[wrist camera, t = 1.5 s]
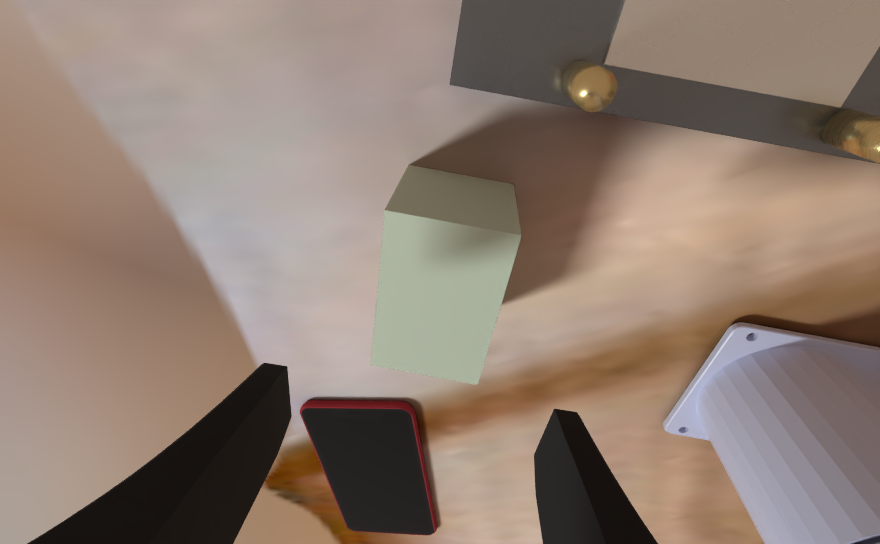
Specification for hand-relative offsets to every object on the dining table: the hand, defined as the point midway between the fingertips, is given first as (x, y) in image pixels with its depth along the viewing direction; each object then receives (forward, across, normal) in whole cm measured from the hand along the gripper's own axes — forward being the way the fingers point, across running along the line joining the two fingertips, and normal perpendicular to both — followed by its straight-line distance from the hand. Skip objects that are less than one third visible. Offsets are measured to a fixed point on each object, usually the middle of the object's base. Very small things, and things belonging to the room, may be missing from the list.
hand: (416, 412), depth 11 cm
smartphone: (+10, +2, +19) cm, 22 cm away
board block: (+10, 0, 0) cm, 10 cm away
